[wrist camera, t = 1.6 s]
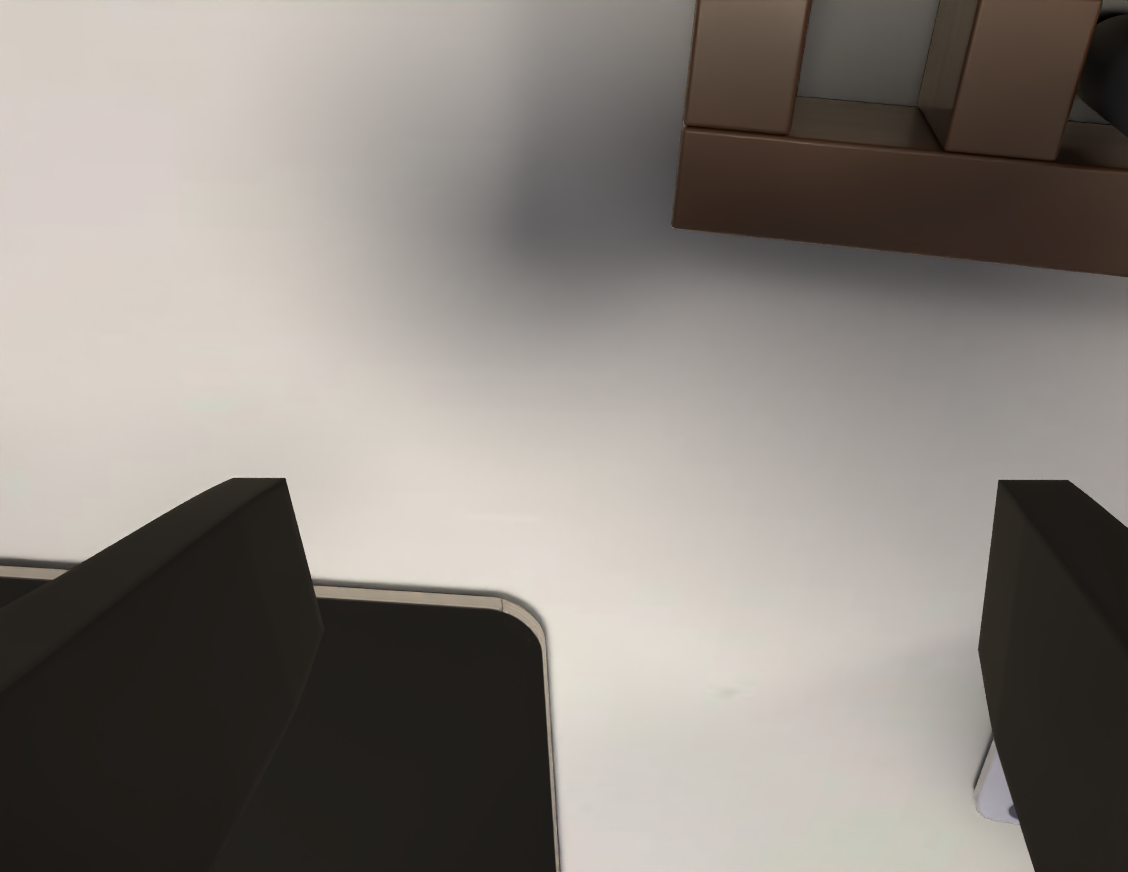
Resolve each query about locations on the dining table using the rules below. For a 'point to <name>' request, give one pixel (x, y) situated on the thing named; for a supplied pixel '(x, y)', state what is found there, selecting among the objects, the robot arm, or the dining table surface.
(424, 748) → the tablet
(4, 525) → the dining table surface
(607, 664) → the dining table surface
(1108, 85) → the stylus
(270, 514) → the robot arm
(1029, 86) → the stand
